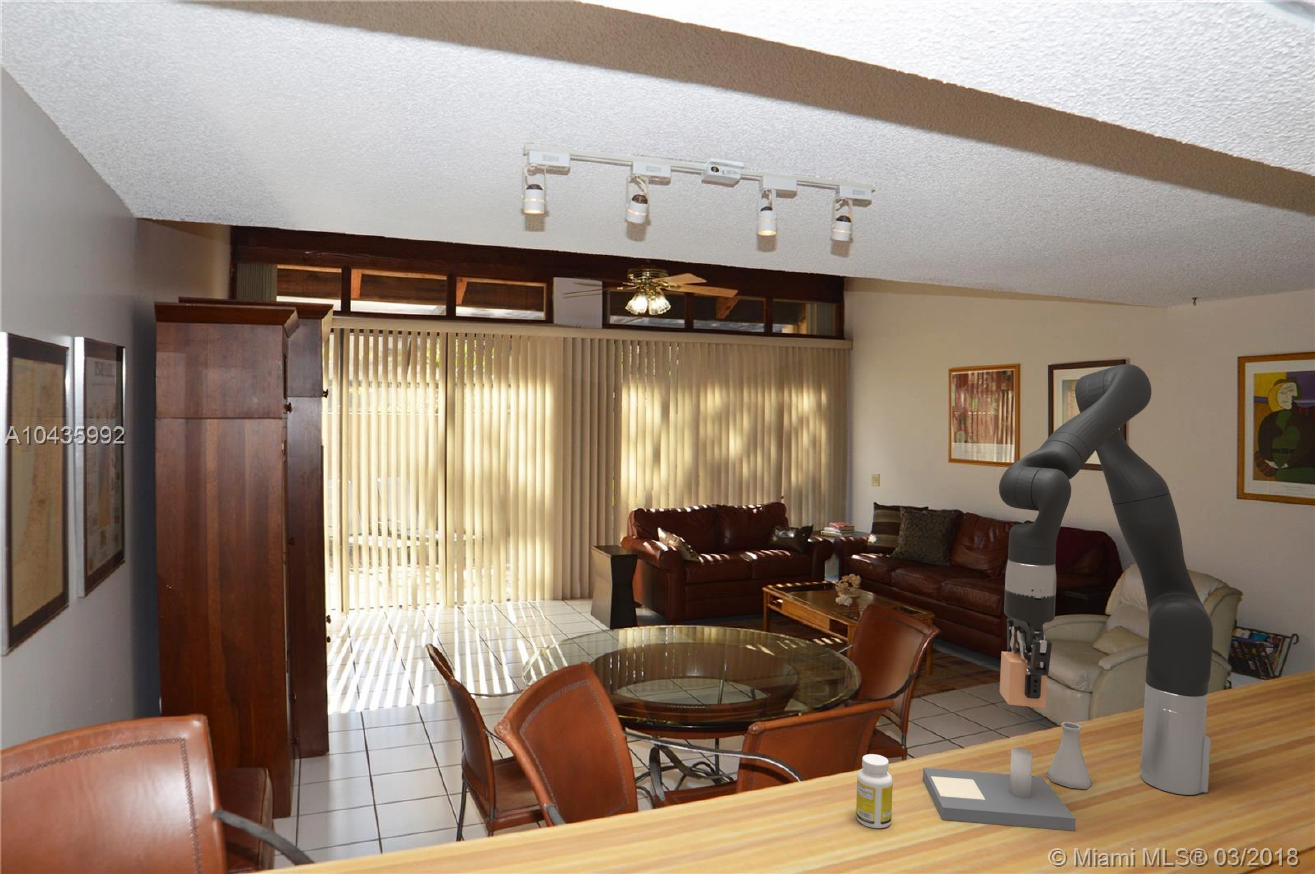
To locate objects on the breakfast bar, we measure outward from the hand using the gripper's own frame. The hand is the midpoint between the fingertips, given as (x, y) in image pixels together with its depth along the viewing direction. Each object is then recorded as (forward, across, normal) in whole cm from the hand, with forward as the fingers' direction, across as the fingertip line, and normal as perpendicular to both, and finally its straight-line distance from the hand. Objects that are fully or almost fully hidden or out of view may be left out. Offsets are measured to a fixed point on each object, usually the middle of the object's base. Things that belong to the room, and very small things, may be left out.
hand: (1025, 690), depth 130 cm
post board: (+19, 0, -4) cm, 20 cm away
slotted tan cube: (+2, 0, 0) cm, 2 cm away
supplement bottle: (+20, +9, -25) cm, 33 cm away
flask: (+20, -11, +12) cm, 25 cm away
